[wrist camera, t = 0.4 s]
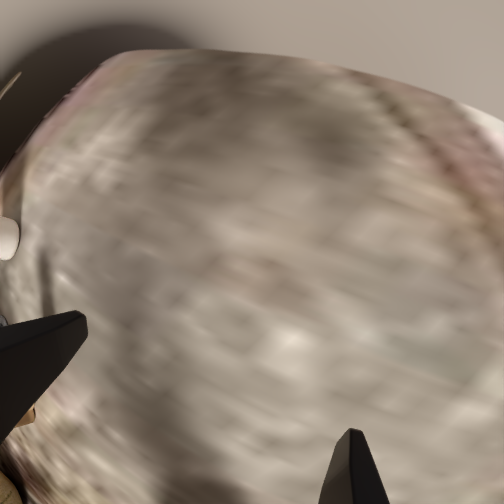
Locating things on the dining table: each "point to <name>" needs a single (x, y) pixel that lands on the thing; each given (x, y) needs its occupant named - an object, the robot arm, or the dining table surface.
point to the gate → (27, 418)
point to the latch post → (3, 321)
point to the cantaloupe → (8, 491)
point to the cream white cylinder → (8, 238)
